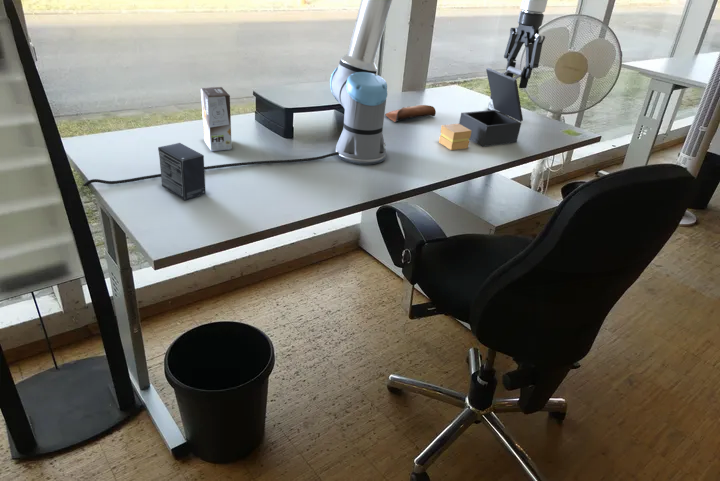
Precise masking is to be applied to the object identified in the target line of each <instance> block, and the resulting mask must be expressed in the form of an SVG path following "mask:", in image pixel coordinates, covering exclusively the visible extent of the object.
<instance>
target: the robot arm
mask: <svg viewBox="0 0 720 481" xmlns="http://www.w3.org/2000/svg"><path fill="white" fill-rule="evenodd" d="M392 4H393V0H360V4H359V8H358V12H357V16H356V19H355V23H354V27H353V31H352V34H351V38H350V41H349V45H348V49H347V52H346V54H344V55H343V56H341V57H340V59H339V62H338V65H337V67H336V68H335V69H334V70H333V72H332V73H331V75H330V78H329V86H330V91H331V94H332V96H333V97H334V99H335V100H336V101H337V102H338V103H339V104H340V105H341V107H343V109H344V114H343V127H342V131H341V134H340V135H339V138H338V139H337V140H338V141H337V142H336V146H335V152H331V153H327V154H323V155H320V156H319V155H318V156H314V157H305V158H292V159H274V160H256V161H244V162H243V161H242V162H234V163H224V164H215V165H210V166H208V165H206V166H204V171H206V170H213V169H221V168H222V169H223V168H230V167H239V166H250V165H252V166H253V165H263V164H264V165H265V164H285V163H286V164H288V163H299V162H310V161H318V160H322V159H327V158H329V157H335V156H336V157H337V158H338V159H340V161H343V162H346V163H349V164H353V165H359V166H360V165H361V166H371V165H377V164H380V163H382V162H384V161H385V160H386V157H387V148H386V145H387V144H386V142H385V139H384V135H383V134H384V133H383V130H384V129H383V128H384V123H385V122H384V120H385V114H386V105H387V98H388V83H387V81H386V80H385V78H383V77H382V76H380V75H379V74H377V72H378V68H377V66H376V63H375V61H376V58H377V54H378V50H379V47H380V44H381V41H382V38H383V34H384V31H385V27H386V24H387V20H388V17H389V14H390V10H391V7H392ZM547 4H548V0H522V1H521V5H520V10H521V11H519V14H518V19H517V23H518V26H517V27H510V29H509V37H508V41H507V43H506V47H505V51H504V55H503V58H504V59H506V61H507V62H506V63H507V64H506V67H505V71H506V70H507V69H508V67H509V66H512V67H514V68H516V66H517V57H518V55H519V53H520V51H521V49H522V47H523V45H524V47H525V66H523V68H522V71H523V72H522V76H521V77H520V80H519V84H518V89H527V87H528V82H529V80H530V79H531V76H532V73H533V69H538V68H539V65H540V60H541V55H542V49H543V44H544V41H545V39H546V36H545V35H541V33H540V27H542V25H543V21H544V17H545V15H544V13H545V12H546V9H547ZM505 75H507V76H509V77H512V78H514V74H512V73H510V72H509V73H507V74H505ZM155 178H157V179H158V178H161V173H156V174H150V175H145V176H138V177H131V178H125V179H118V180H105V179H100V178H91V179H89V180H87V181H86V182H84V184H83V187H88V186H89V185H90V184H93V183H100V184H104V185H119V184H127V183H133V182H139V181H144V180H149V179H155Z"/></svg>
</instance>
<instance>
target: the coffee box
mask: <svg viewBox="0 0 720 481" xmlns="http://www.w3.org/2000/svg"><path fill="white" fill-rule="evenodd" d="M200 96H201V98H200V99H201V110H202V125H203V126H202V127H203V141H204V143H205V144H206V146H207V147H208V149H209V150H210V151H211V152H217V151H229V150H232V146H233V144H232V121H231V120H232V119H231V114H232V113H231V96H230V94H229V93H228V92H227V91H226V90H225V89H224V88H223V87H222V86H211V87H209V86H208V87H201V88H200Z"/></svg>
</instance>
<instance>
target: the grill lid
mask: <svg viewBox="0 0 720 481" xmlns="http://www.w3.org/2000/svg"><path fill="white" fill-rule="evenodd" d="M485 71H486V75H487V80H488V86H489V91H490V96H492V101H493V106H494V109H495V110H497V111H499V112H501V113H504V114H506V116H508V117H511V118H513V119H515V120H517V121H519V122H521V123H522V122H524V119H523V110H522V105H521V99H520V92H519V85H518V81H517V80H518V79H519V78H521V76H522V72H523V69H519V68H517V67H515V68H514V67H512V66H509V67H508V69H507V70H506V69H505V71H503V72H499V71H497V70H495V69H493V68H489V67H487V68H486V69H485ZM509 72H510V73H512V74H513V75H515V76H513V78H512V77H509V76H507V75H506V74H507V73H509Z"/></svg>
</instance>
